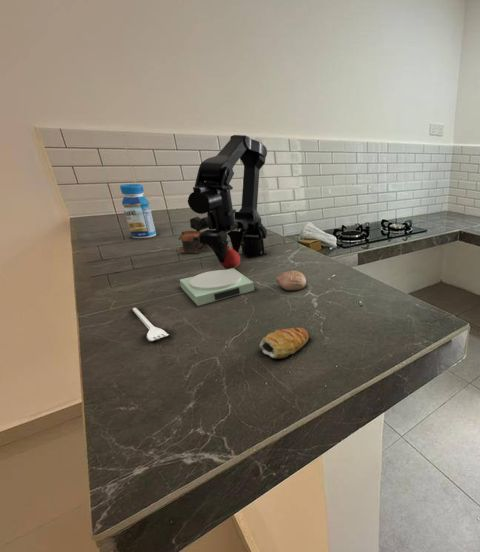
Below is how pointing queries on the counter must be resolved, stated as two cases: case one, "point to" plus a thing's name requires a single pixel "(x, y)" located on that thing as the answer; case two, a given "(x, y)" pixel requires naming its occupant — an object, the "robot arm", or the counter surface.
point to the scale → (216, 285)
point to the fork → (150, 327)
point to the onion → (231, 259)
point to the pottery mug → (191, 242)
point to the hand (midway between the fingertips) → (229, 257)
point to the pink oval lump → (291, 280)
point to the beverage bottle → (137, 211)
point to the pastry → (284, 342)
